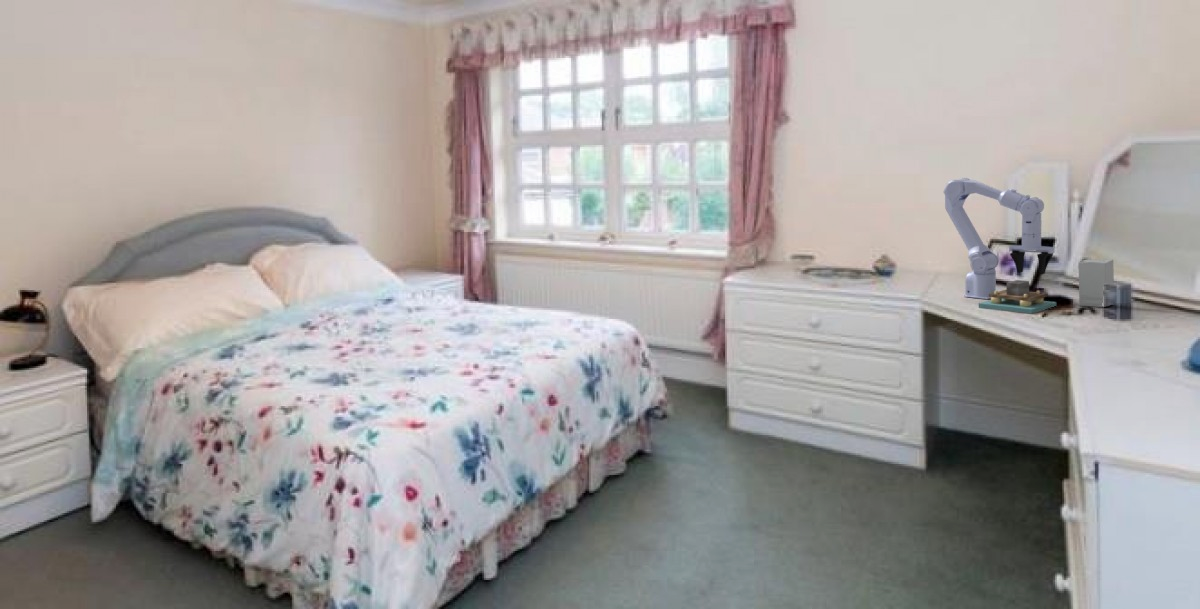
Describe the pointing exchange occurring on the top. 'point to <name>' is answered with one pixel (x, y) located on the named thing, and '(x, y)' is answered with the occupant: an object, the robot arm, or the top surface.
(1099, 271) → the skincare box
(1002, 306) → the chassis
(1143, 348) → the top surface
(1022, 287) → the board
